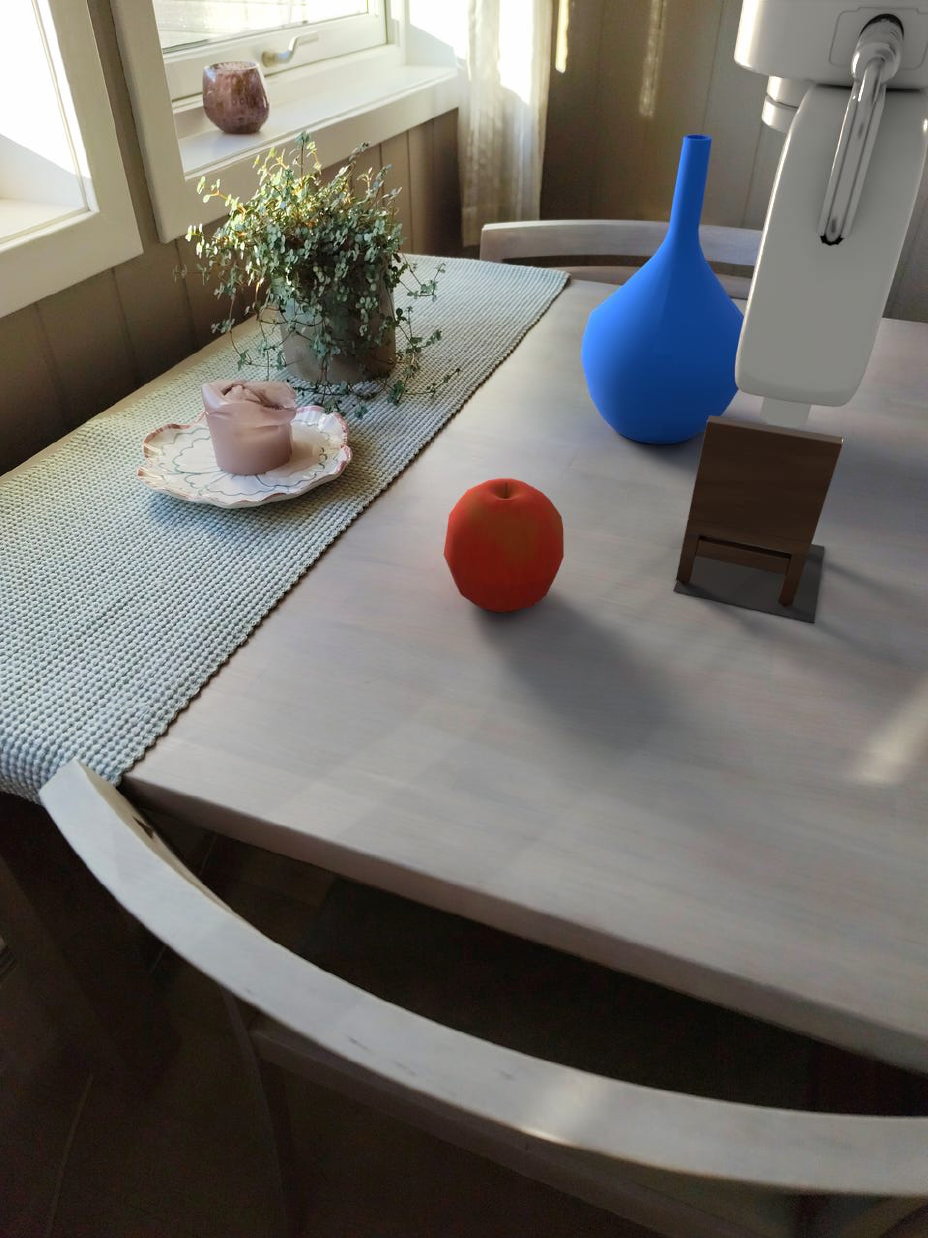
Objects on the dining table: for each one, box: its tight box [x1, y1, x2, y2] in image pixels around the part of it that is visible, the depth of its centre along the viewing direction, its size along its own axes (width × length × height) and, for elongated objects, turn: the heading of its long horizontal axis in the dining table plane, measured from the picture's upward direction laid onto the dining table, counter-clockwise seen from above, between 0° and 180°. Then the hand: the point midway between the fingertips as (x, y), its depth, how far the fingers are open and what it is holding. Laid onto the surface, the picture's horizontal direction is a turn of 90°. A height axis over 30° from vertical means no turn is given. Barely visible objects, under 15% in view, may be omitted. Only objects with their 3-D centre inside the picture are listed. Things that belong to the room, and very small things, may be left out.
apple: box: [443, 477, 565, 613], centre depth 73 cm, size 10×10×12 cm
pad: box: [672, 533, 825, 624], centre depth 79 cm, size 12×12×1 cm
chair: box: [675, 415, 844, 606], centre depth 74 cm, size 10×10×16 cm
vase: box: [580, 134, 745, 445], centre depth 91 cm, size 18×18×30 cm
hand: (784, 411), depth 36 cm, fingers closed
